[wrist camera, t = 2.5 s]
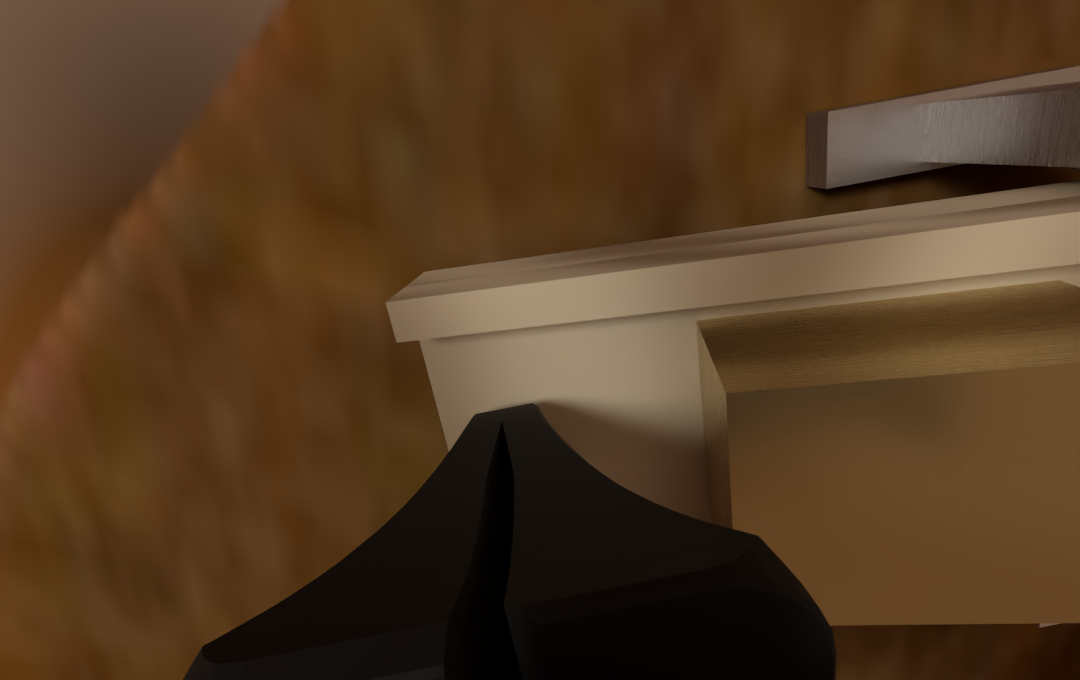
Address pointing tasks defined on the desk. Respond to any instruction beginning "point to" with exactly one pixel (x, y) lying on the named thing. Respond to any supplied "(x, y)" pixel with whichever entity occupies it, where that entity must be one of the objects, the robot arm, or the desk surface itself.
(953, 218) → the balance beam
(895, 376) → the block
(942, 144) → the pivot stand
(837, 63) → the desk surface
